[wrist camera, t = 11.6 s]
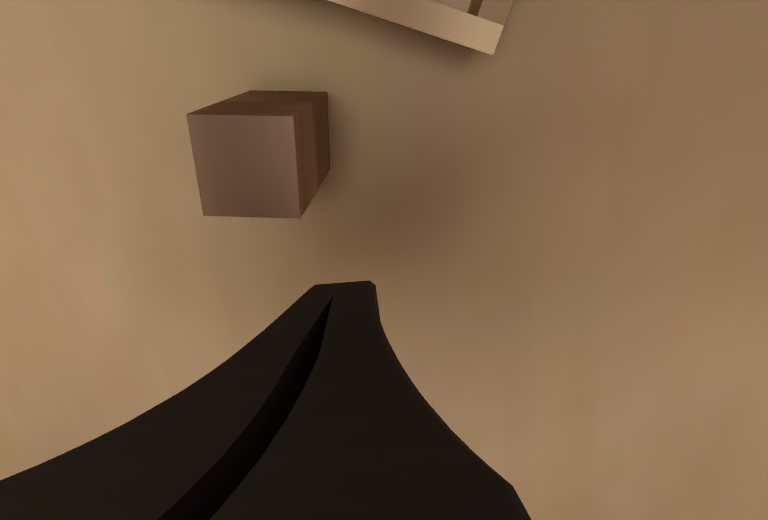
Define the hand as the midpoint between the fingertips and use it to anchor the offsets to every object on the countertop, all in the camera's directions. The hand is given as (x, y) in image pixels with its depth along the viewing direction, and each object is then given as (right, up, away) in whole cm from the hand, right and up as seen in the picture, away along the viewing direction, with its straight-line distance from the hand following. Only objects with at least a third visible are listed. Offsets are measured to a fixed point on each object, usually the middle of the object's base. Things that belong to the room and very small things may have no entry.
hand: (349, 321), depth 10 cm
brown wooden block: (-3, +7, +8) cm, 11 cm away
